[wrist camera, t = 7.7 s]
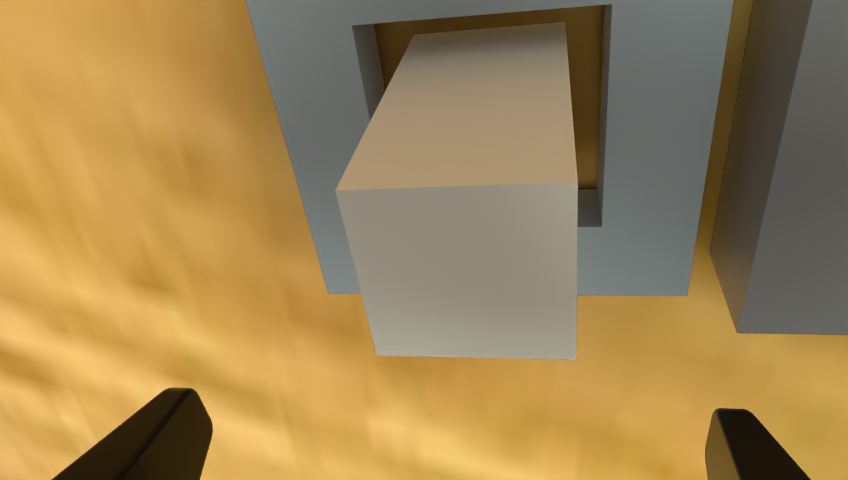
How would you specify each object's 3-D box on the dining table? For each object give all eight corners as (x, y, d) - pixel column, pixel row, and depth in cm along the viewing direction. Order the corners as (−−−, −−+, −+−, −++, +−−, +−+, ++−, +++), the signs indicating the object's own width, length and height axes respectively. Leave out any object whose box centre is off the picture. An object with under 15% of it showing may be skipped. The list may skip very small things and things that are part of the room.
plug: (565, 21, 16) (577, 181, 10) (565, 158, 18) (575, 359, 12) (413, 34, 17) (334, 190, 11) (432, 163, 19) (376, 355, 13)
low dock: (731, -153, 13) (756, -143, 12) (675, 253, 20) (687, 296, 18) (256, -93, 16) (223, -79, 14) (343, 255, 22) (328, 293, 20)
